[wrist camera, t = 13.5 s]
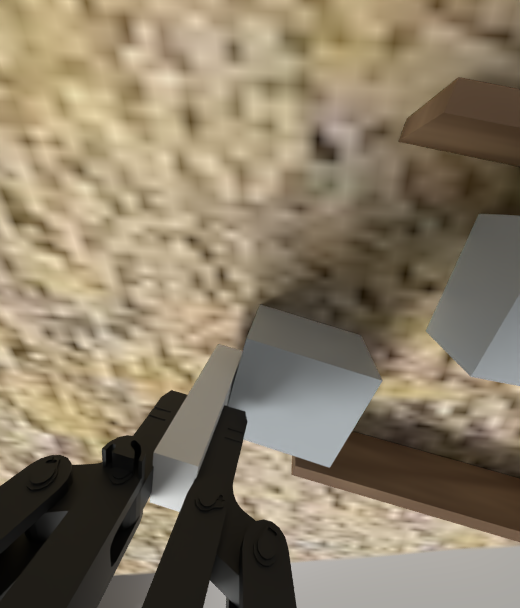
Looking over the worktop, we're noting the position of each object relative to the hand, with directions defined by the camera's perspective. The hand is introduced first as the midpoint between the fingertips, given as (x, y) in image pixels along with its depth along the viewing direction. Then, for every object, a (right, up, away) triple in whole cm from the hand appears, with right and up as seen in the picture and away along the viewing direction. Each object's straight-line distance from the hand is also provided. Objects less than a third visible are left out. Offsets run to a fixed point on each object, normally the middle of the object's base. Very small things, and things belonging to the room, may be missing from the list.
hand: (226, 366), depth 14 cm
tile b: (+4, 0, +1) cm, 4 cm away
